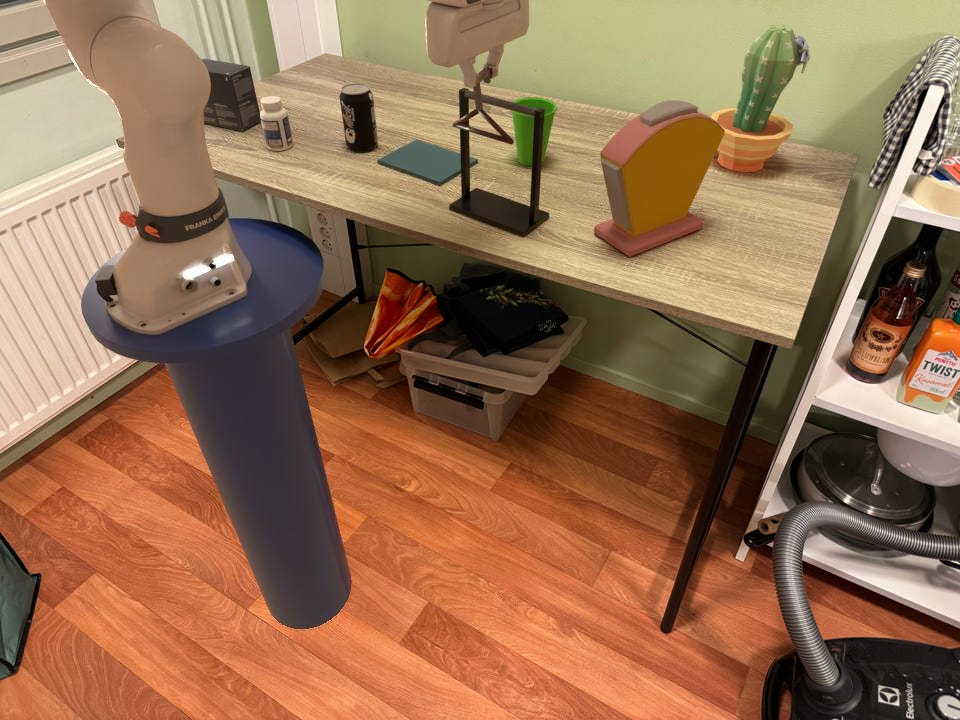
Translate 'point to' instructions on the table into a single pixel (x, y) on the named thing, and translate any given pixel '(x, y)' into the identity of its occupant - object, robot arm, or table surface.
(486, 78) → the hanger
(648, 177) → the yellow fan-shaped flat fixture
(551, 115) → the cup
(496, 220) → the rack
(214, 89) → the small box
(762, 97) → the potted cactus
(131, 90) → the robot arm
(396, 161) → the mat
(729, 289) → the table surface
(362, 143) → the beverage can
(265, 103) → the pill bottle
